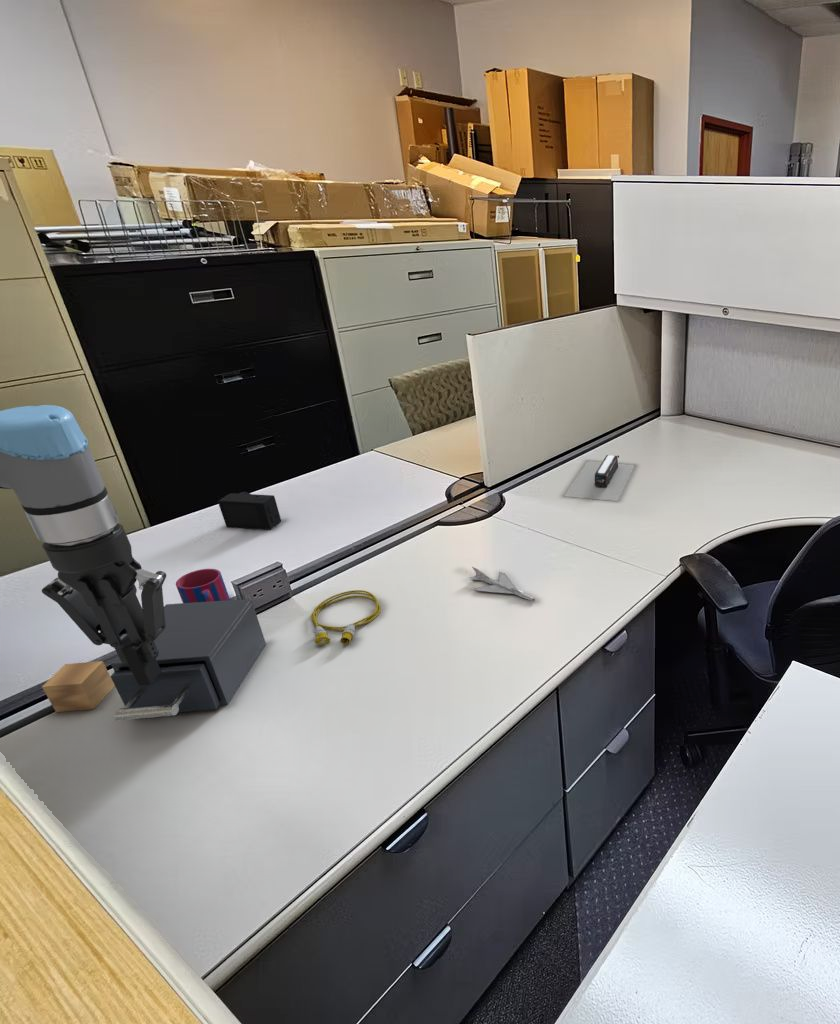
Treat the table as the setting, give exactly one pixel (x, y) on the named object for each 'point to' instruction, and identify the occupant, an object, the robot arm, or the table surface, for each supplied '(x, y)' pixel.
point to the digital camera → (249, 511)
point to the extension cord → (348, 630)
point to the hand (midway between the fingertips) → (150, 678)
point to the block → (78, 686)
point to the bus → (601, 480)
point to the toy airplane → (499, 585)
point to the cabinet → (211, 640)
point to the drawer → (166, 691)
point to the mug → (202, 586)
